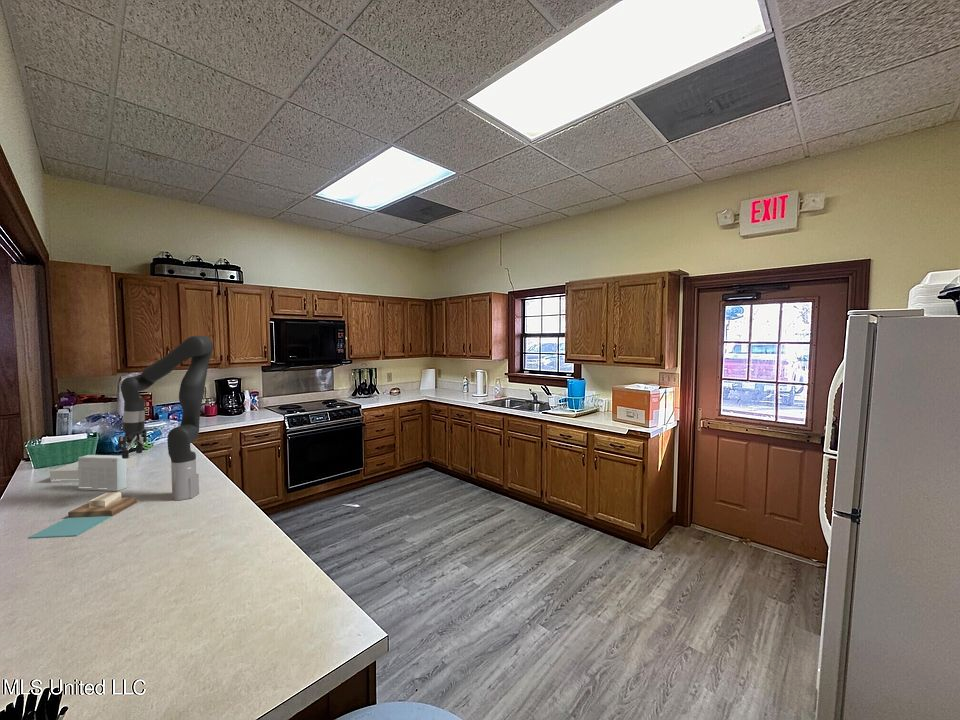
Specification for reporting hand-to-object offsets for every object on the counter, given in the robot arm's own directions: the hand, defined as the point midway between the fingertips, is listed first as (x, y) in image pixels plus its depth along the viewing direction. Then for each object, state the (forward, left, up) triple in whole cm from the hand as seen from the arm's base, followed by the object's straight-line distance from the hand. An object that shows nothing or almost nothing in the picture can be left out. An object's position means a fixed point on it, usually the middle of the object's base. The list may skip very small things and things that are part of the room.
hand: (132, 455), depth 181 cm
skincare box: (+24, -16, -21) cm, 35 cm away
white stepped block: (+44, -39, -20) cm, 62 cm away
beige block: (+4, +10, -18) cm, 21 cm away
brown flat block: (+4, +11, -20) cm, 23 cm away
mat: (+4, +27, -20) cm, 34 cm away
